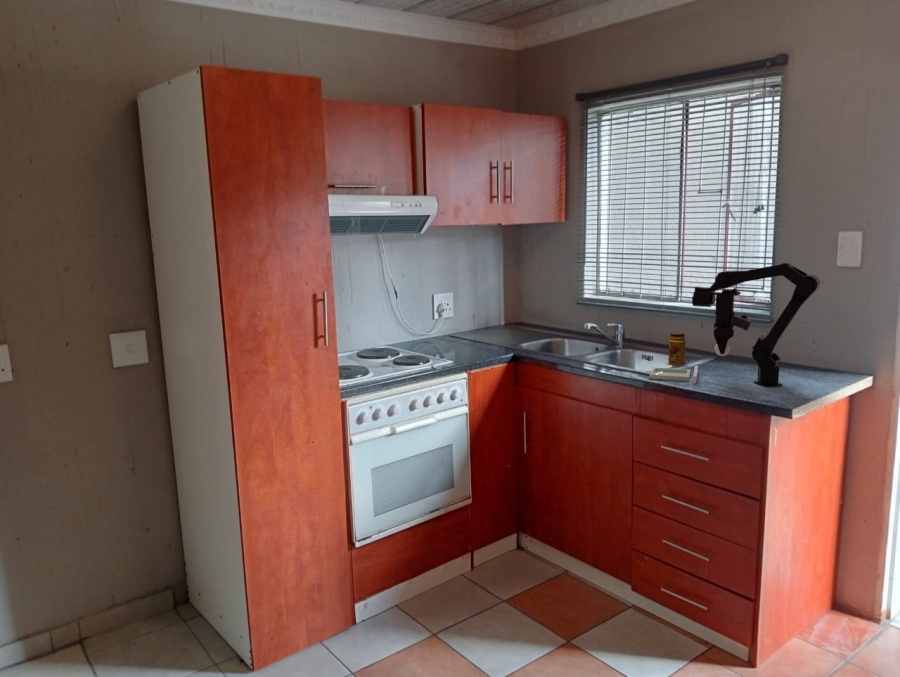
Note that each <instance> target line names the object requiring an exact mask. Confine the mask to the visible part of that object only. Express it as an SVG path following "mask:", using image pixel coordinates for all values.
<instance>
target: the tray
mask: <svg viewBox="0 0 900 677" xmlns="http://www.w3.org/2000/svg"><path fill="white" fill-rule="evenodd" d="M658 371H663V374H661V375H656V374H654V373H655V372H658ZM690 377H691V368H675V367H674V368H673V367H652V369H651V371H650V374H649V380H654V379H662V380H661V381H672V382H675V381H676V382H690Z"/></svg>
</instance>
